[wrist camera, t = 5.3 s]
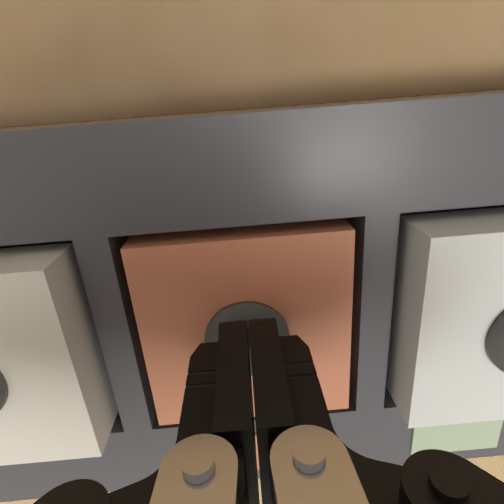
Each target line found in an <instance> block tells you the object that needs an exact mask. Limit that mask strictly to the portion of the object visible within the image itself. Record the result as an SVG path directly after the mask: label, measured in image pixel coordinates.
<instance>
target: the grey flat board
mask: <svg viewBox="0 0 504 504" xmlns="http://www.w3.org/2000/svg"><path fill="white" fill-rule="evenodd" d="M497 207H504V89H503V90H490V91H477V92H464V93H451V94H438V95H425V96H412V97H398V98H385V99H372V100H359V101H346V102H333V103H320V104H307V105H294V106H281V107H268V108H255V109H242V110H229V111H216V112H203V113H190V114H177V115H164V116H151V117H138V118H125V119H112V120H99V121H86V122H73V123H60V124H47V125H34V126H21V127H7V128H0V248H10V247H22V246H34V245H47V244H59V243H71V242H72V243H73V246H74V250H75V254H76V257H77V261H78V265H79V268H80V272H81V276H82V279H83V283H84V287H85V290H86V294H87V298H88V301H89V305H90V309H91V312H92V316H93V320H94V323H95V327H96V331H97V334H98V338H99V342H100V345H101V349H102V353H103V356H104V360H105V364H106V367H107V371H108V375H109V378H110V382H111V386H112V389H113V393H114V397H115V400H116V404H117V408H118V413H117V416H116V419H115V421H114V424H113V427H112V430H111V432H110V435H109V438H108V441H107V443H106V446H105V449H104V452H103V454H102V457H91V458H80V459H69V460H59V461H48V462H37V463H26V464H15V465H4V466H0V502H6V501H17V500H28V499H38V498H41V497H42V496H43V495H45V494H46V493H47V492H49V491H50V490H52V489H53V488H55V487H57V486H59V485H61V484H63V483H66V482H69V481H72V480H77V479H91V480H94V481H97V482H99V483H100V484H102V485H103V486H104V487H105V488H106V490H107V492H113V491H116V490H118V489H121V488H123V487H126V486H128V485H131V484H133V483H136V482H138V481H140V480H142V479H144V478H146V477H148V476H149V475H151V474H153V473H154V472H155V471H156V470H158V469H159V467H160V465H161V462H162V460H163V458H164V457H165V455H166V454H167V452H168V451H169V450H170V449H171V448H172V447H173V446H174V445H175V444H176V440H177V434H178V428H179V424H171V425H160V426H159V422H158V418H157V413H156V409H155V404H154V400H153V395H152V391H151V386H150V382H149V377H148V373H147V368H146V364H145V359H144V355H143V350H142V346H141V341H140V337H139V332H138V328H137V323H136V319H135V314H134V310H133V305H132V301H131V296H130V292H129V287H128V283H127V278H126V274H125V269H124V265H123V260H122V256H121V251H120V249H121V248H122V246H123V245H124V244H125V242H126V241H127V239H128V238H129V237H130V235H142V234H154V233H166V232H178V231H191V230H203V229H215V228H227V227H239V226H252V225H264V224H276V223H288V222H300V221H313V220H325V219H337V218H345V219H346V220H347V221H348V223H349V224H350V225H351V226H352V227H353V228H354V229H355V252H354V278H353V305H352V331H351V357H350V383H349V408H347V409H336V410H328V412H329V416H330V419H331V422H332V426H333V428H334V431H335V433H336V434H337V436H338V437H339V438H340V440H341V441H342V442H343V443H344V444H345V445H346V446H347V447H349V448H350V449H351V450H353V451H354V452H356V453H358V454H360V455H362V456H365V457H367V458H370V459H374V460H378V461H383V462H388V463H392V464H397V465H403V464H404V463H405V461H406V460H407V458H408V457H410V456H411V455H412V454H414V453H416V452H418V451H421V450H427V449H437V450H444V451H447V452H451V453H453V454H456V455H458V456H460V457H462V458H464V459H467V458H477V457H488V456H499V455H504V420H494V421H484V422H473V423H462V424H451V425H440V426H429V427H418V428H408V427H407V425H406V423H405V421H404V420H403V418H402V416H401V414H400V412H399V410H398V408H397V406H396V404H395V402H394V401H393V399H392V397H391V395H390V393H389V391H388V389H387V387H386V375H387V363H388V352H389V340H390V328H391V316H392V305H393V293H394V281H395V269H396V258H397V246H398V234H399V223H400V215H412V214H424V213H437V212H449V211H461V210H473V209H485V208H497ZM254 426H255V442H256V457H257V473H258V478H260V469H259V458H258V446H257V435H256V422H255V417H254Z"/></svg>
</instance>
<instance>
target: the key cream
mask: <svg viewBox="0 0 504 504" xmlns="http://www.w3.org/2000/svg"><path fill="white" fill-rule="evenodd" d="M117 413H118V408H117V404H116V400H115V397H114V393H113V389H112V386H111V382H110V378H109V375H108V371H107V367H106V364H105V360H104V356H103V353H102V349H101V345H100V342H99V338H98V334H97V331H96V327H95V323H94V320H93V316H92V312H91V309H90V305H89V301H88V298H87V294H86V290H85V287H84V283H83V279H82V276H81V272H80V268H79V265H78V261H77V257H76V254H75V250H74V246H73V243H72V242H71V243H59V244H47V245H34V246H22V247H10V248H0V466H4V465H15V464H26V463H37V462H48V461H59V460H69V459H80V458H91V457H102V454H103V452H104V449H105V446H106V443H107V441H108V438H109V435H110V432H111V430H112V427H113V424H114V421H115V419H116V416H117Z"/></svg>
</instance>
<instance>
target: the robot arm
mask: <svg viewBox="0 0 504 504" xmlns="http://www.w3.org/2000/svg"><path fill="white" fill-rule="evenodd" d="M249 333H250V348H251V363H252V378H253V393H254V407H255V422H256V435H257V446H258V458H259V469H260V481H261V492H262V503H263V504H504V482H502V481H500V480H499V479H497V478H495V477H494V476H492V475H491V474H489V473H487V472H486V471H484V470H482V469H481V468H479V467H478V466H476V465H474V464H473V463H471V462H469V461H468V460H466V459H464V458H462V457H460V456H458V455H456V454H453V453H451V452H447V451H444V450H437V449H427V450H421V451H418V452H416V453H414V454H412V455H411V456H410V457H408V458H407V460H406V461H405V463H404V465H403V466H402V465H397V464H392V463H388V462H383V461H378V460H374V459H370V458H367V457H365V456H362V455H360V454H358V453H356V452H354V451H353V450H351V449H350V448H349V447H347V446H346V445H345V444H344V443H343V442H342V441H341V440H340V438H339V437H338V436H337V434H336V433H335V431H334V428H333V426H332V422H331V419H330V416H329V412H328V409H327V406H326V402H325V399H324V396H323V392H322V389H321V386H320V382H319V379H318V377H317V372H316V369H315V366H314V364H313V359H312V356H311V352H310V349H309V346H308V345H307V344H306V343H305V342H304V341H303V340H302V339H301V338H300V337H299V336H298V335H290V336H279V333H278V328H277V323H276V318H264V319H252V320H249ZM34 504H259V489H258V473H257V457H256V442H255V426H254V410H253V395H252V380H251V368H250V356H249V345H248V333H247V323H246V320H242V321H230V322H219V332H218V342H209V343H200V344H199V346H198V347H197V348H196V350H195V351H194V352H193V354H192V355H191V356H190V361H189V367H188V375H187V379H186V388H185V391H184V397H183V403H182V410H181V416H180V422H179V428H178V434H177V440H176V444H175V445H174V446H173V447H172V448H171V449H170V450H169V451H168V452H167V454H166V455H165V457H164V458H163V460H162V462H161V465H160V467H159V469H158V470H156V471H155V472H154V473H153V474H151V475H149V476H148V477H146V478H144V479H142V480H140V481H138V482H136V483H133V484H131V485H128V486H126V487H123V488H121V489H118V490H116V491H113V492H111V493H108V492H107V490H106V488H105V487H104V486H103V485H102V484H100V483H99V482H97V481H94V480H91V479H77V480H72V481H69V482H66V483H63V484H61V485H59V486H57V487H55V488H53V489H52V490H50V491H49V492H47V493H46V494H45V495H43V496H42V497H41V498H40V499H38V500H37V501H36V502H35V503H34Z"/></svg>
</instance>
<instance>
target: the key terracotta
mask: <svg viewBox="0 0 504 504" xmlns="http://www.w3.org/2000/svg"><path fill="white" fill-rule="evenodd" d="M120 251H121V256H122V260H123V265H124V269H125V274H126V278H127V283H128V287H129V292H130V296H131V301H132V305H133V310H134V314H135V319H136V323H137V328H138V332H139V337H140V341H141V346H142V350H143V355H144V359H145V364H146V368H147V373H148V377H149V382H150V386H151V391H152V395H153V400H154V404H155V409H156V413H157V418H158V422H159V426H160V425H171V424H179V422H180V416H181V410H182V403H183V397H184V391H185V388H186V379H187V375H188V367H189V361H190V356H191V355H192V354H193V352H194V351H195V350H196V348H197V347H198V346H199V344H200V343H209V342H218V332H219V322H230V321H242V320H246V323H247V333H248V345H249V356H250V368H251V380H252V395H253V410H254V417H255V407H254V393H253V378H252V363H251V348H250V333H249V320H252V319H264V318H276V323H277V328H278V333H279V336H290V335H298V336H299V337H300V338H301V339H302V340H303V341H304V342H305V343H306V344H307V345H308V346H309V349H310V352H311V356H312V359H313V364H314V366H315V369H316V372H317V377H318V379H319V382H320V386H321V389H322V392H323V396H324V399H325V402H326V406H327V409H328V410H336V409H347V408H349V383H350V357H351V331H352V305H353V278H354V252H355V229H354V228H353V227H352V226H351V225H350V224H349V223H348V221H347V220H346V219H345V218H337V219H325V220H313V221H300V222H288V223H276V224H264V225H252V226H239V227H227V228H215V229H203V230H191V231H178V232H166V233H154V234H142V235H130V237H129V238H128V239H127V241H126V242H125V244H124V245H123V246H122V248H121V249H120Z"/></svg>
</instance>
